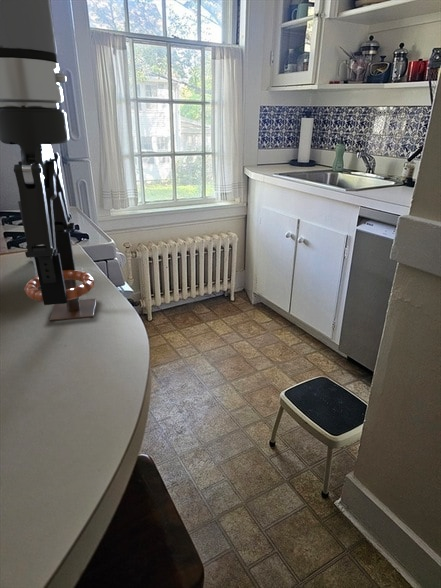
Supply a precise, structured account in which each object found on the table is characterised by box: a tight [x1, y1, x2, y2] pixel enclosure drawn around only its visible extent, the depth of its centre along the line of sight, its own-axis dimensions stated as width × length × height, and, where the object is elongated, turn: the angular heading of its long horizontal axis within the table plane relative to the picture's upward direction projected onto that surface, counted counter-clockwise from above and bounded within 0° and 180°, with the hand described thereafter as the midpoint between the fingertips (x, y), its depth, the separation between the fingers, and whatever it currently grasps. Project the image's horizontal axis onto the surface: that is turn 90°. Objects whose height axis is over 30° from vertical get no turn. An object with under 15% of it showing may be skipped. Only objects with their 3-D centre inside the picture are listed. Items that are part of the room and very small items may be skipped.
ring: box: [24, 269, 95, 303], centre depth 54 cm, size 9×9×1 cm
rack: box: [48, 280, 98, 323], centre depth 76 cm, size 8×8×12 cm
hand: (61, 287), depth 54 cm, fingers closed on ring, 9 cm apart
